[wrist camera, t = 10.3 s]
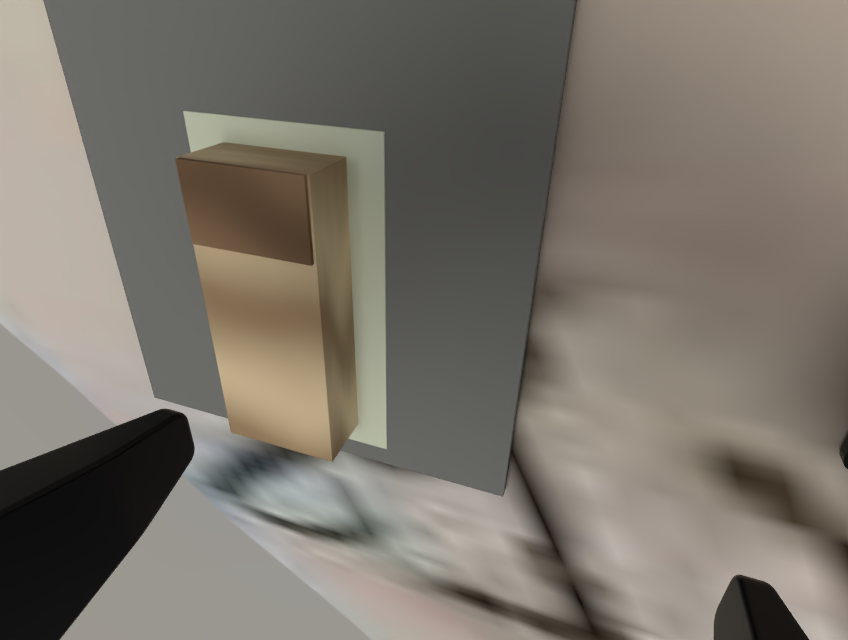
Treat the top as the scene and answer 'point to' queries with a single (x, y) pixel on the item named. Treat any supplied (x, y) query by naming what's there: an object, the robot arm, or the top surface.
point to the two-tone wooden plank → (277, 290)
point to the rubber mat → (366, 180)
